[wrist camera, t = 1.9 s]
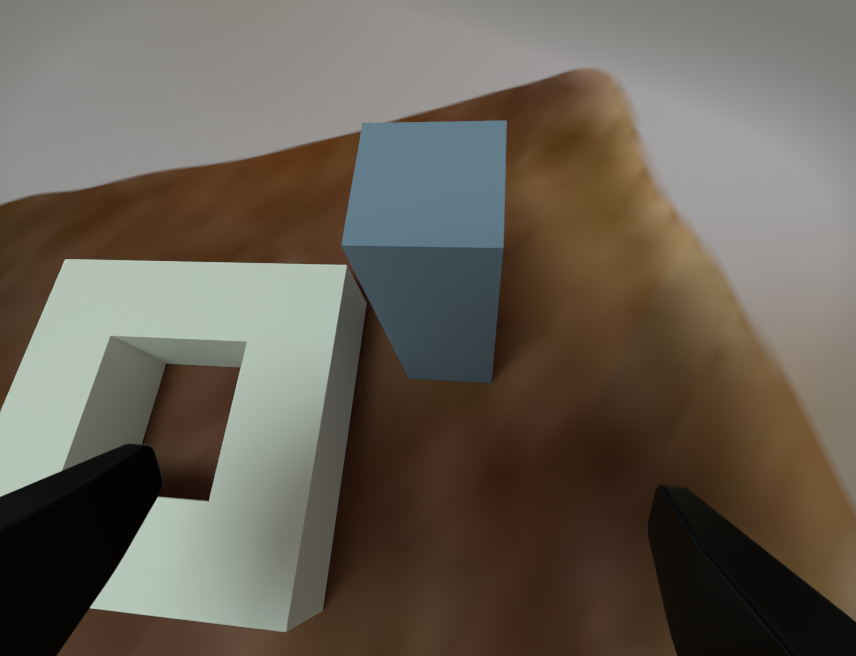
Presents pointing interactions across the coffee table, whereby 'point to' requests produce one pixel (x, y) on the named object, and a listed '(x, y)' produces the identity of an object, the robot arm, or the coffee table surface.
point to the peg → (431, 241)
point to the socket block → (244, 437)
